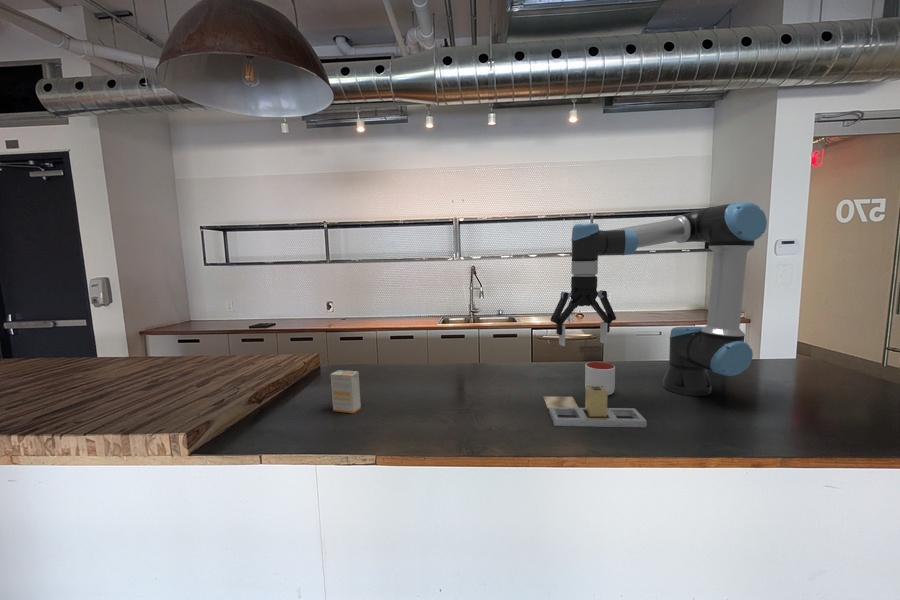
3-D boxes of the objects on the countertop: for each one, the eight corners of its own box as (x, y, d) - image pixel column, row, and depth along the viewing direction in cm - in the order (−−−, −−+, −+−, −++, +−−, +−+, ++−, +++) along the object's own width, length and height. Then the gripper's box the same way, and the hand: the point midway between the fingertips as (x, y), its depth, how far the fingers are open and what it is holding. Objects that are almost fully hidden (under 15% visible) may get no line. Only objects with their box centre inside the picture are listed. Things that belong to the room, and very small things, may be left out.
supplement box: (361, 408, 129) (359, 371, 127) (353, 414, 124) (351, 375, 123) (340, 405, 132) (338, 369, 130) (332, 411, 127) (329, 373, 126)
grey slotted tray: (634, 414, 119) (634, 408, 118) (646, 427, 110) (646, 420, 109) (549, 413, 121) (549, 407, 121) (554, 425, 112) (554, 419, 112)
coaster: (572, 397, 133) (572, 396, 133) (579, 409, 124) (579, 408, 123) (543, 397, 134) (543, 396, 134) (547, 408, 125) (547, 407, 124)
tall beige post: (601, 416, 118) (602, 385, 116) (606, 423, 113) (607, 390, 111) (585, 416, 118) (585, 384, 117) (589, 423, 113) (590, 390, 112)
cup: (617, 397, 132) (618, 370, 131) (587, 396, 134) (587, 369, 133) (611, 388, 142) (611, 362, 141) (583, 386, 144) (583, 361, 143)
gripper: (615, 273, 120) (613, 339, 123) (540, 275, 117) (539, 343, 119) (629, 274, 113) (627, 344, 115) (549, 277, 110) (549, 349, 112)
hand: (582, 344), depth 117 cm, fingers open, 13 cm apart
